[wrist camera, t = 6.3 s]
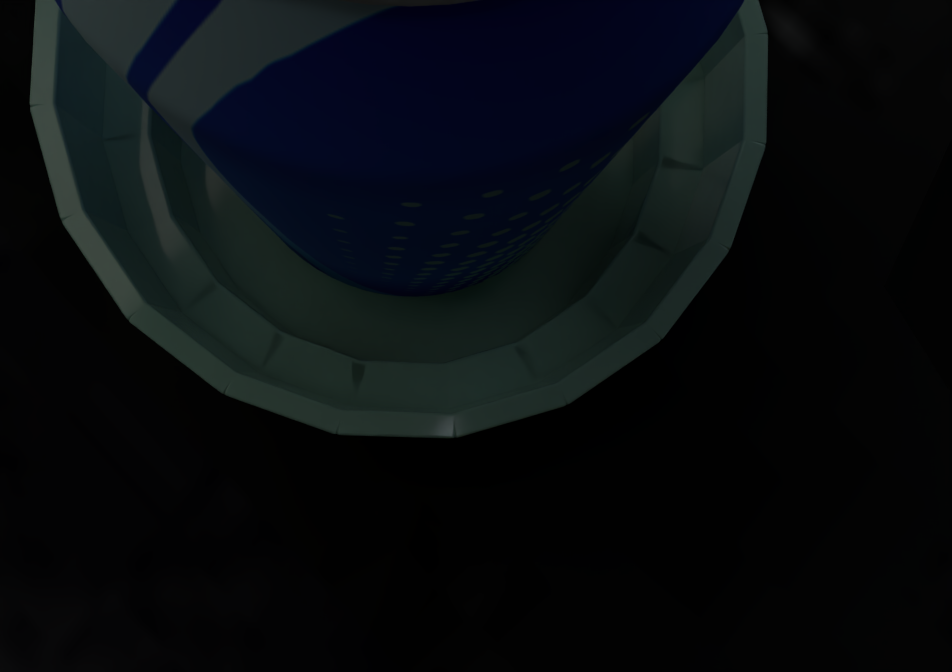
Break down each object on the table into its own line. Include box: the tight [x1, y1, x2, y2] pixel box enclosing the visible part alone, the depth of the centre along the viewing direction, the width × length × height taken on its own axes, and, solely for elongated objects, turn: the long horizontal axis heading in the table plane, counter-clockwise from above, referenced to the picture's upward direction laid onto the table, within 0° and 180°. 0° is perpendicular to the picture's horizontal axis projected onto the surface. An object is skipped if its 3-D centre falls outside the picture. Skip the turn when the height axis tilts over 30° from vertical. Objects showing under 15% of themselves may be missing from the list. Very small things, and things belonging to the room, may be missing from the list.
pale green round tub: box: [30, 0, 768, 439], centre depth 20 cm, size 15×15×6 cm
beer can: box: [55, 0, 744, 297], centre depth 15 cm, size 8×8×16 cm
